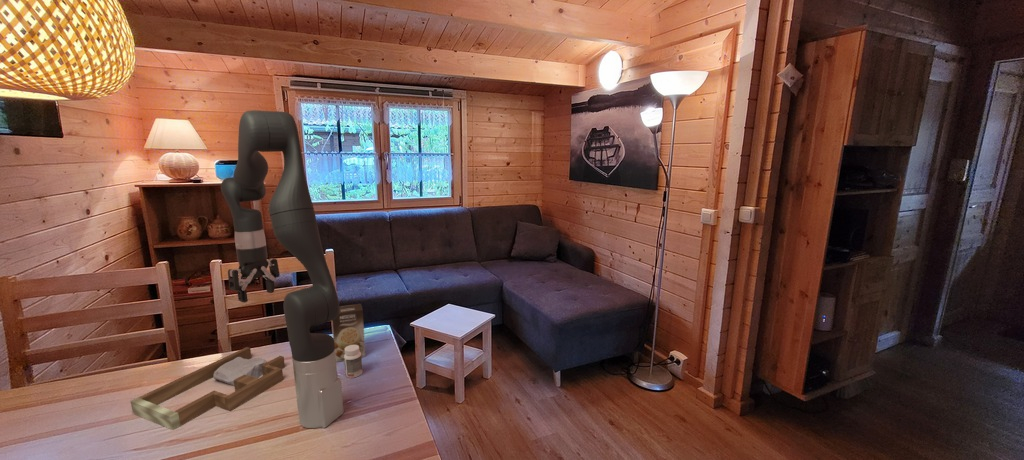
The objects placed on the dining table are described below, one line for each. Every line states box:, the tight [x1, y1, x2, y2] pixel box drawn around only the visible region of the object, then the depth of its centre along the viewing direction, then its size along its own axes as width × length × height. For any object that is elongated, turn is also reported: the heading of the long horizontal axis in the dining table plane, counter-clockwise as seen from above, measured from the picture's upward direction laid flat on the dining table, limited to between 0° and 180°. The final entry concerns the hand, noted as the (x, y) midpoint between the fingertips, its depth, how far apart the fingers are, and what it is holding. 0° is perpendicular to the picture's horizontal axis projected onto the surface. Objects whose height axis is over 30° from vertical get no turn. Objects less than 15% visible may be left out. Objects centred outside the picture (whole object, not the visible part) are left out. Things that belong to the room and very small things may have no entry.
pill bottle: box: [343, 345, 363, 379], centre depth 115 cm, size 5×5×8 cm
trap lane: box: [130, 346, 286, 431], centre depth 107 cm, size 22×30×4 cm
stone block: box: [212, 357, 268, 387], centre depth 114 cm, size 12×5×10 cm
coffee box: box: [331, 303, 366, 363], centre depth 125 cm, size 9×6×16 cm
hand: (257, 297), depth 119 cm, fingers open, 8 cm apart
